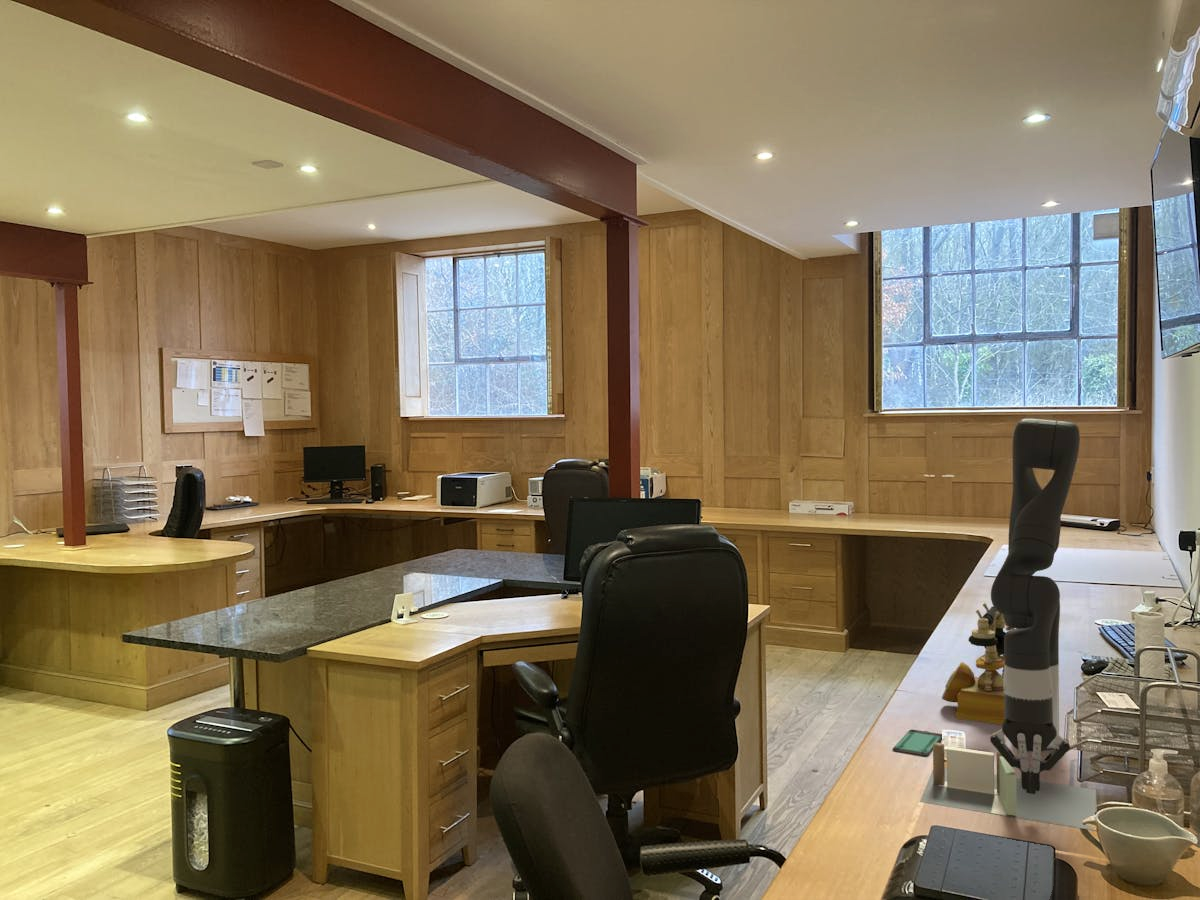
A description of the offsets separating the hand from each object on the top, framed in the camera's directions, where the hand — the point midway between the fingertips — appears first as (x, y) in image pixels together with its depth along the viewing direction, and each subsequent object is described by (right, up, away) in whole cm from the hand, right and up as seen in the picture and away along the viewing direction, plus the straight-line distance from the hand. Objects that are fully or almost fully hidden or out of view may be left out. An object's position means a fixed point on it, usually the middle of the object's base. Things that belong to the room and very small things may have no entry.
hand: (1030, 792), depth 157 cm
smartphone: (-6, -4, +37) cm, 38 cm away
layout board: (0, -4, +9) cm, 10 cm away
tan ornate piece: (+18, -3, +62) cm, 65 cm away
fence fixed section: (-5, -4, +12) cm, 14 cm away
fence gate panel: (-2, -4, +4) cm, 6 cm away
